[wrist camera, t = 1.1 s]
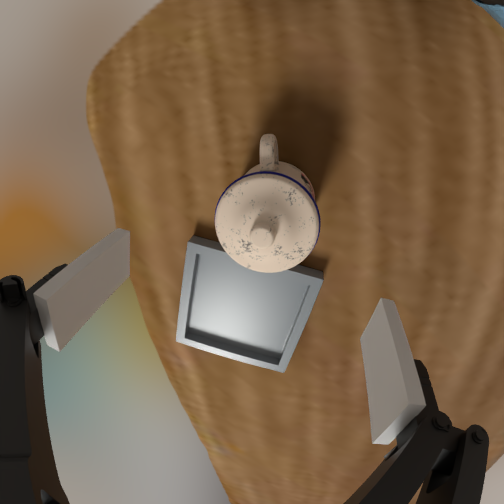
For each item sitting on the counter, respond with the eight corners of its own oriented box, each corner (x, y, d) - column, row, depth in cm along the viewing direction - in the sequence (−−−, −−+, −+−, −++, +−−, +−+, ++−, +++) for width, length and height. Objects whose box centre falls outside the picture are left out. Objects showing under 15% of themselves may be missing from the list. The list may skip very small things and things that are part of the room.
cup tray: (193, 235, 37) (187, 241, 36) (322, 271, 37) (323, 279, 35) (180, 332, 45) (175, 341, 43) (285, 363, 44) (284, 372, 42)
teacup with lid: (315, 238, 35) (318, 292, 25) (237, 236, 37) (209, 287, 26) (317, 131, 30) (324, 138, 20) (231, 133, 32) (195, 141, 21)
